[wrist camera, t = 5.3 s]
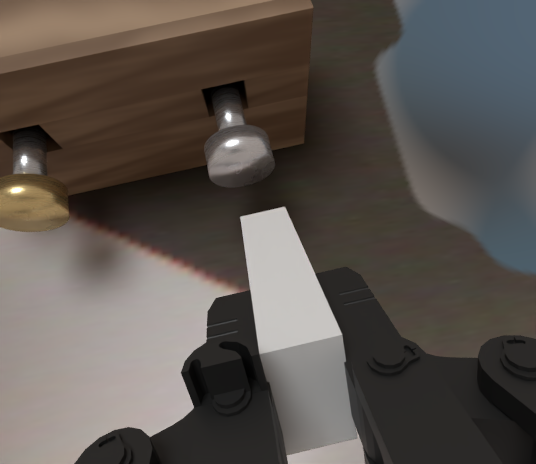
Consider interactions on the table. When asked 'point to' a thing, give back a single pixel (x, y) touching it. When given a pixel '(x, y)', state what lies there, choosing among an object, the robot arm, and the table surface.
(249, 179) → the steel knob
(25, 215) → the brass knob
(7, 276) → the table surface
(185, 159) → the console
